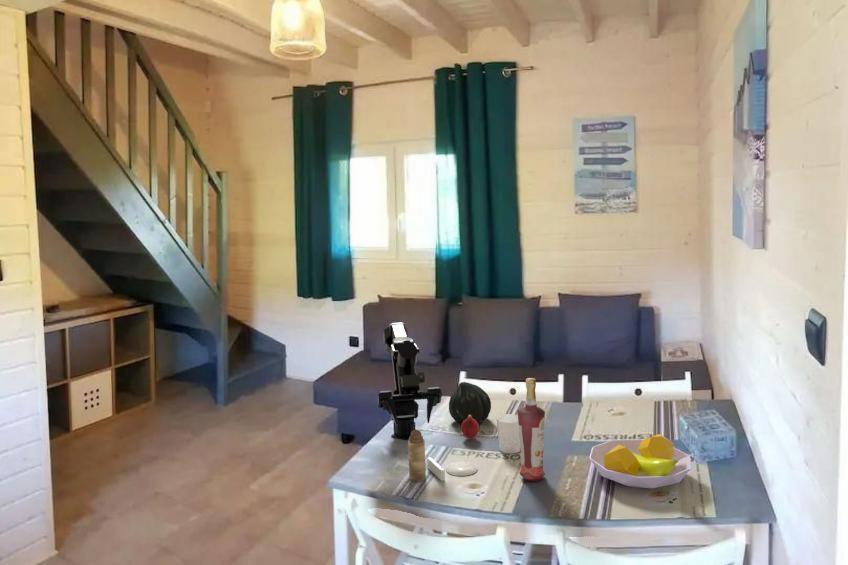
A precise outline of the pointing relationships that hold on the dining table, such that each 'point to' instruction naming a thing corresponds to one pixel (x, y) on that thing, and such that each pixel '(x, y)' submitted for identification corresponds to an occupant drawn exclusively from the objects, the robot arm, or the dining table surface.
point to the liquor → (531, 435)
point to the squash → (469, 403)
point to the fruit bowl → (641, 462)
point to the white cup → (508, 433)
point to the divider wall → (436, 469)
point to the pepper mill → (416, 457)
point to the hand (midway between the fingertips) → (412, 423)
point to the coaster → (461, 468)
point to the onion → (470, 427)
